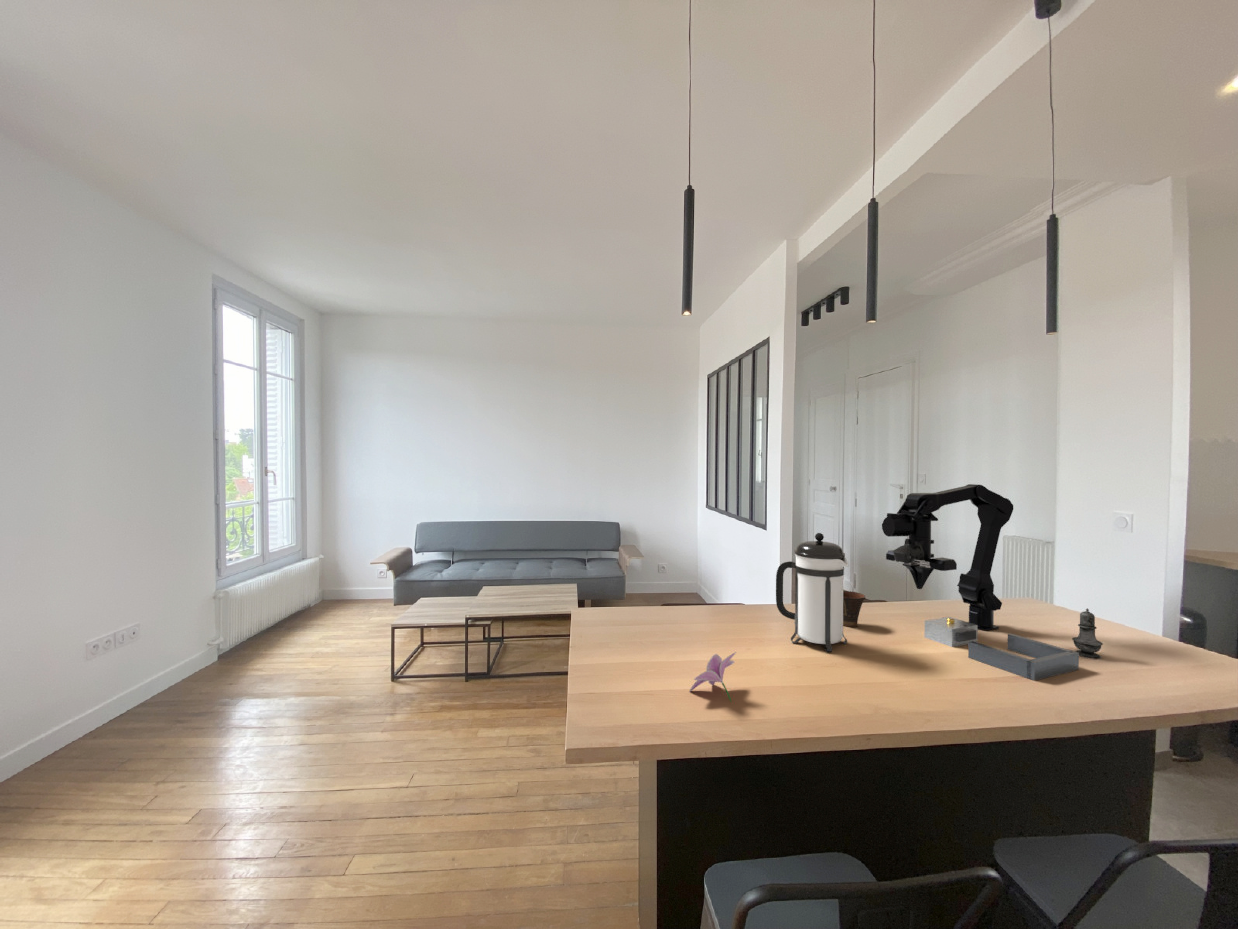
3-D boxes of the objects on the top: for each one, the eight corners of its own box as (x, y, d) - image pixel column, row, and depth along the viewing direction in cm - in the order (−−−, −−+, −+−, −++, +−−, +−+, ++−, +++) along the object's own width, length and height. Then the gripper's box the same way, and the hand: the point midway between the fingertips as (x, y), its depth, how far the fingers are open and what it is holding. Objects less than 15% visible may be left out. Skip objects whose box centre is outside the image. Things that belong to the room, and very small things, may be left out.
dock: (1011, 648, 135) (1011, 633, 135) (1078, 669, 121) (1078, 652, 121) (968, 657, 129) (968, 641, 129) (1034, 680, 115) (1034, 663, 115)
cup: (875, 627, 150) (869, 593, 150) (844, 631, 150) (839, 597, 150) (861, 619, 158) (856, 587, 159) (832, 623, 159) (827, 591, 159)
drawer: (949, 634, 147) (949, 613, 147) (980, 644, 139) (980, 622, 139) (924, 638, 144) (924, 617, 144) (954, 648, 135) (954, 626, 135)
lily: (743, 689, 112) (724, 646, 116) (762, 690, 102) (740, 643, 105) (694, 711, 110) (676, 667, 113) (708, 715, 99) (688, 665, 102)
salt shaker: (1075, 656, 130) (1076, 609, 130) (1068, 649, 135) (1068, 604, 135) (1106, 661, 127) (1106, 612, 127) (1098, 653, 132) (1098, 607, 132)
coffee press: (836, 633, 146) (837, 529, 146) (857, 654, 130) (858, 537, 130) (775, 631, 148) (775, 528, 148) (787, 651, 132) (788, 536, 132)
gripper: (873, 533, 156) (872, 584, 156) (930, 542, 139) (930, 599, 139) (899, 531, 160) (898, 581, 160) (958, 540, 143) (957, 595, 143)
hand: (919, 588), depth 150 cm, fingers closed
